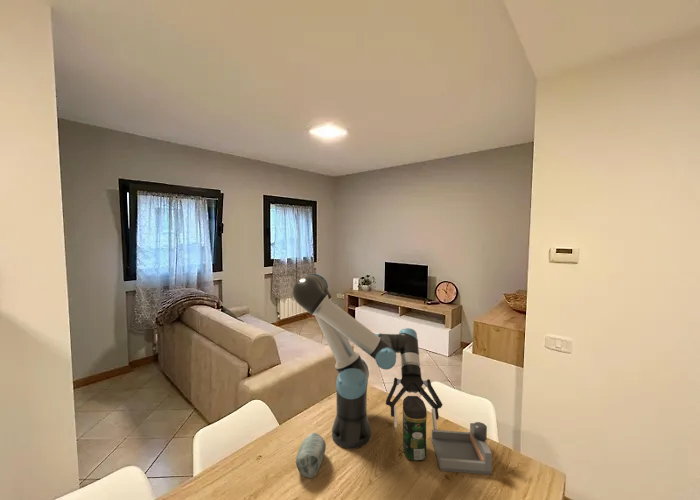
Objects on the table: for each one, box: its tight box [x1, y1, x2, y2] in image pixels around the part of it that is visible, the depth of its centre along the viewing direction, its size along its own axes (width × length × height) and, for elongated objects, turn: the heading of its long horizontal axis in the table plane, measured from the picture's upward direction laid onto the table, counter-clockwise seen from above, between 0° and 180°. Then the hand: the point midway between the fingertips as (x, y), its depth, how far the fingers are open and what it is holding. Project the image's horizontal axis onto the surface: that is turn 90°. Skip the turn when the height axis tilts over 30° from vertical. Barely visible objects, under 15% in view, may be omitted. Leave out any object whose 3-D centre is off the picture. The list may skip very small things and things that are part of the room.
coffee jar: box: [402, 395, 428, 462], centre depth 100 cm, size 10×8×19 cm
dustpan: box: [431, 421, 493, 476], centre depth 98 cm, size 17×15×11 cm
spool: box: [295, 432, 327, 479], centre depth 94 cm, size 14×10×10 cm
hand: (415, 428), depth 98 cm, fingers open, 13 cm apart
